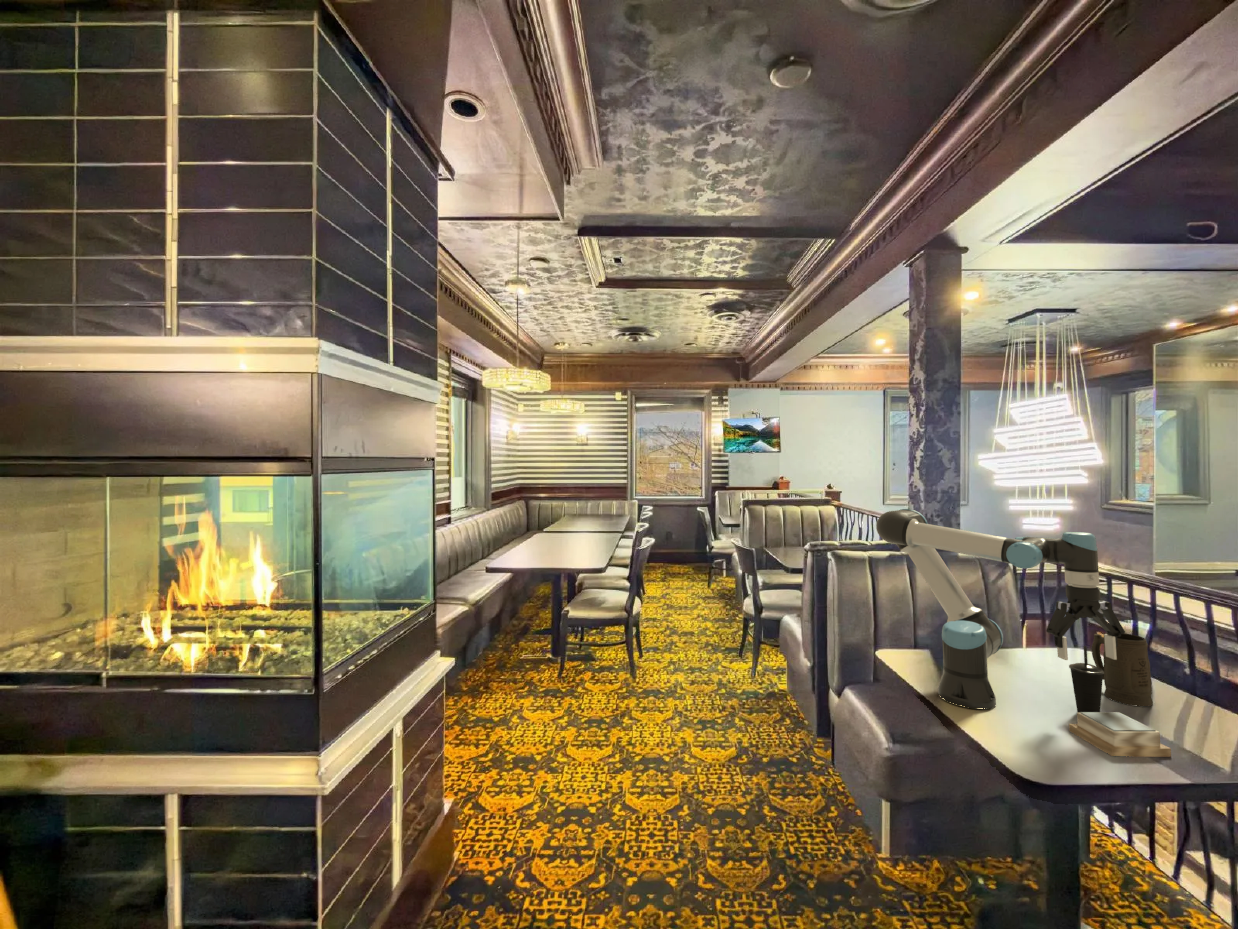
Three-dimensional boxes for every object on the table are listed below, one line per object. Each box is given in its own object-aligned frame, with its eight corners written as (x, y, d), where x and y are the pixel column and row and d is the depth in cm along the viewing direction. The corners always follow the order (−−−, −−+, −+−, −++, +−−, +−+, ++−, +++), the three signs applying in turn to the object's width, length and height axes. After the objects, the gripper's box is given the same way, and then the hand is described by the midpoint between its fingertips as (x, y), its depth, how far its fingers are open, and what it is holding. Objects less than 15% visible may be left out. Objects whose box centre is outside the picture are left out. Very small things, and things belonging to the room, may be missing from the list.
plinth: (1112, 756, 128) (1111, 733, 128) (1069, 731, 141) (1068, 709, 141) (1171, 756, 128) (1169, 733, 128) (1122, 731, 140) (1121, 709, 141)
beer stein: (1165, 705, 155) (1155, 637, 157) (1141, 710, 152) (1132, 641, 154) (1105, 689, 170) (1097, 627, 172) (1082, 693, 167) (1074, 630, 169)
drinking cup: (1099, 724, 145) (1095, 652, 146) (1066, 713, 152) (1062, 645, 152) (1111, 717, 148) (1107, 647, 149) (1078, 707, 155) (1075, 640, 156)
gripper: (1048, 588, 148) (1053, 663, 147) (1138, 587, 147) (1143, 662, 146) (1028, 583, 156) (1033, 654, 155) (1114, 582, 154) (1119, 653, 154)
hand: (1086, 658), depth 150 cm, fingers open, 13 cm apart
